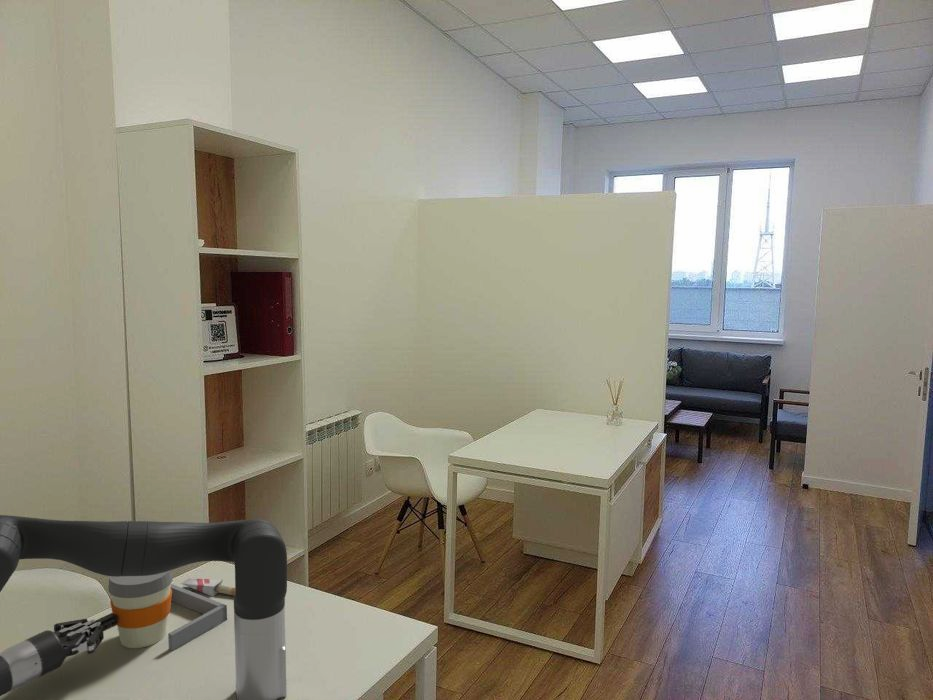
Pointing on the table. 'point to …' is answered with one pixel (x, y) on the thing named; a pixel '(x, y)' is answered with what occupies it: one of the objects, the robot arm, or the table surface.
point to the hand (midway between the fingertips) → (115, 618)
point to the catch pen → (200, 625)
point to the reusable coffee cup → (141, 607)
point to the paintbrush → (209, 586)
